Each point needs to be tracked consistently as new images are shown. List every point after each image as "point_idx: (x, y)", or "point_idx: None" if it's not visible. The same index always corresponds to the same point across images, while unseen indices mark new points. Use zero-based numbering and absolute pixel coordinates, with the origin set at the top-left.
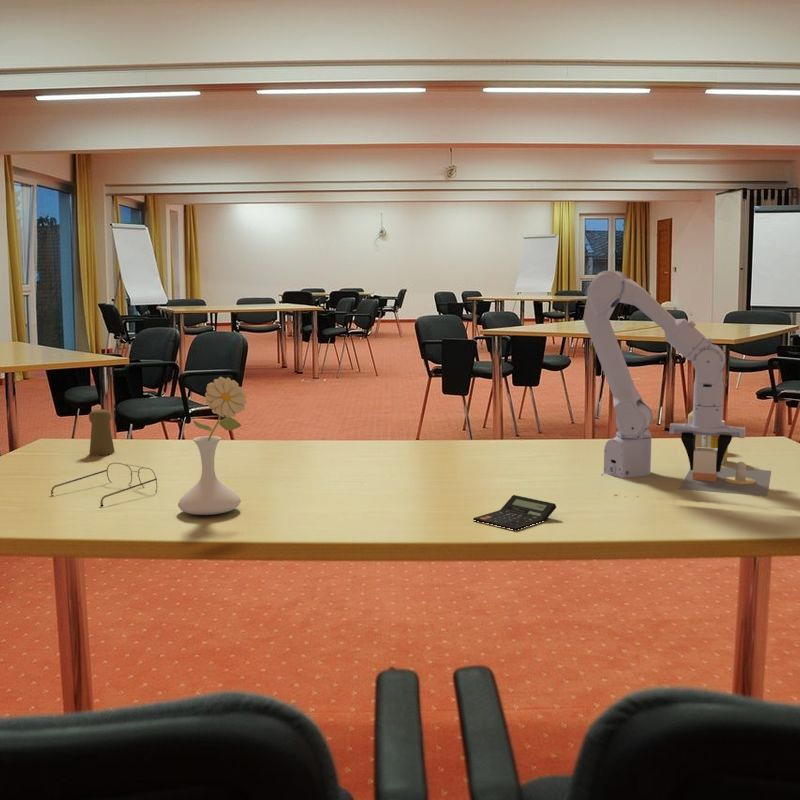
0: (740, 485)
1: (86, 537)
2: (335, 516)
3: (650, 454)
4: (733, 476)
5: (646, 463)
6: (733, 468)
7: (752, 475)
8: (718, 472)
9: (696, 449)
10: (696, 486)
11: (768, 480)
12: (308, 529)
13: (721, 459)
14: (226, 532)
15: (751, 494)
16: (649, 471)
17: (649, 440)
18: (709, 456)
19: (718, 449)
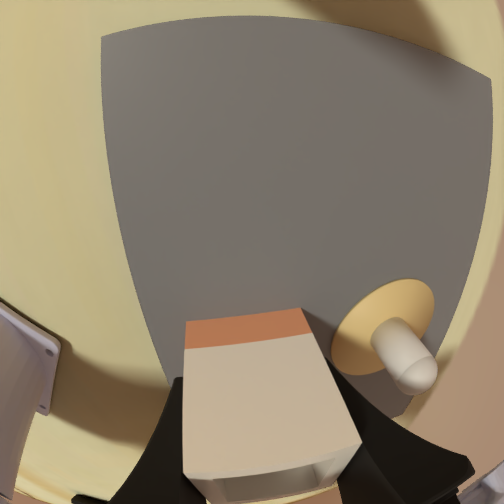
0: (372, 378)
1: None
2: (22, 484)
3: (11, 426)
4: (374, 262)
5: (31, 417)
6: (370, 43)
7: (446, 201)
8: (301, 196)
9: (216, 496)
10: None
11: (468, 267)
12: (41, 496)
13: None
14: (27, 493)
15: None
16: (35, 376)
17: (5, 487)
18: (291, 474)
19: (344, 493)
